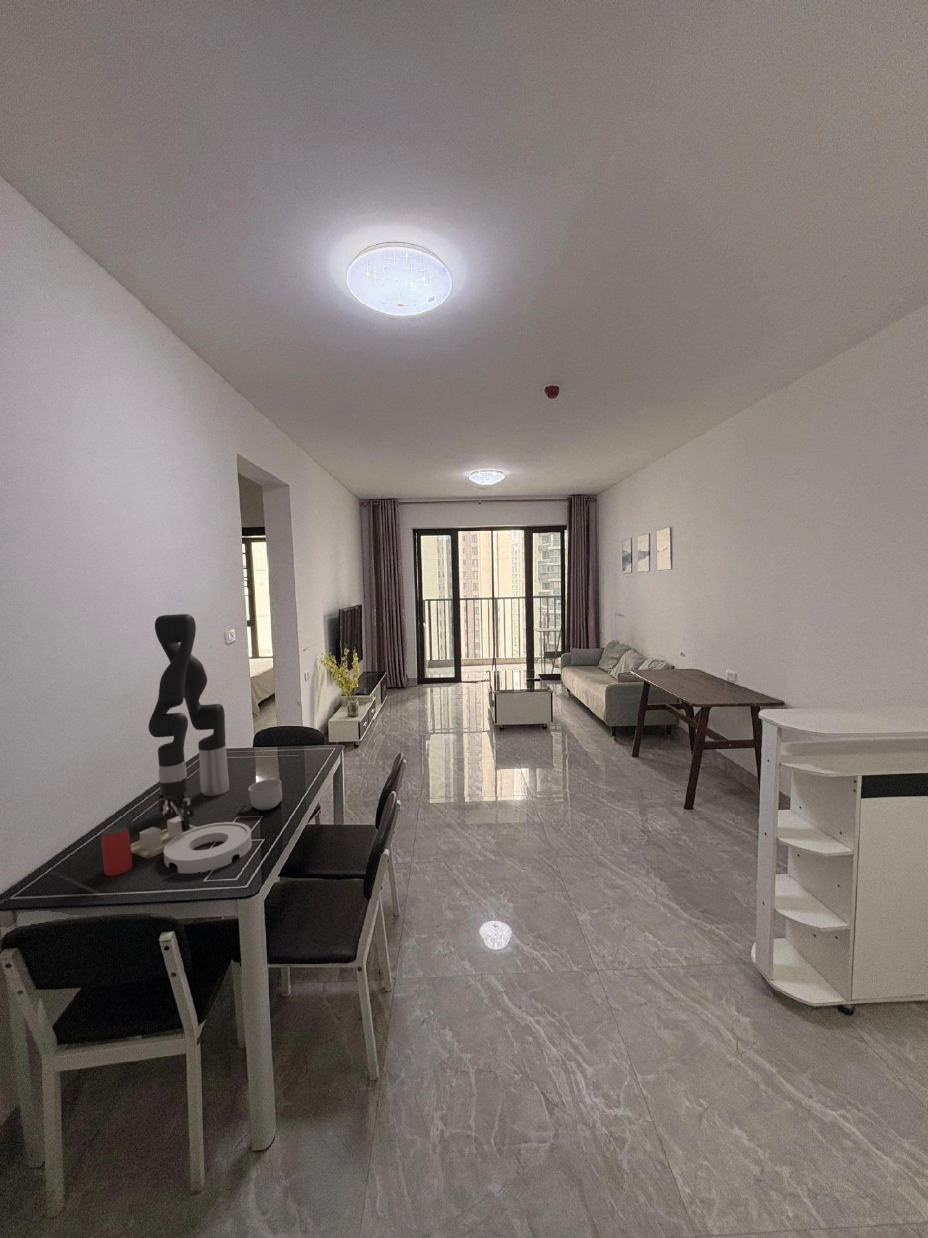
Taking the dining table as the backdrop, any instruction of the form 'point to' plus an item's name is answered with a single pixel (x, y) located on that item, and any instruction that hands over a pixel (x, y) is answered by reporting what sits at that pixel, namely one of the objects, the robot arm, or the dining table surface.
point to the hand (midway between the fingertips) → (177, 828)
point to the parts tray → (148, 854)
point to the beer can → (116, 850)
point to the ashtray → (210, 859)
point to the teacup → (265, 794)
